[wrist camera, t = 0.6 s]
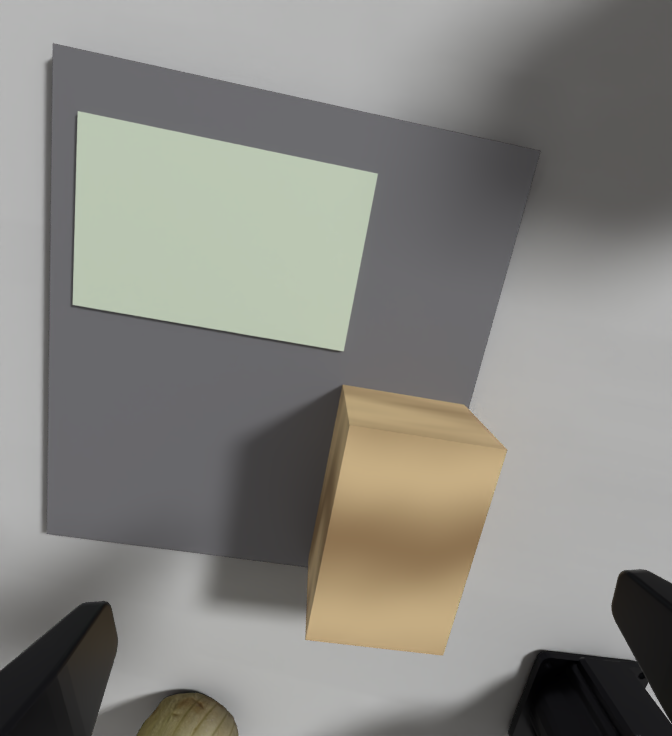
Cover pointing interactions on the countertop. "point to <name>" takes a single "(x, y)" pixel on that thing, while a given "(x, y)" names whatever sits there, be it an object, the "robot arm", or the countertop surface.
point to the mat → (248, 295)
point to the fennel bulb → (189, 717)
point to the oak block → (398, 520)
